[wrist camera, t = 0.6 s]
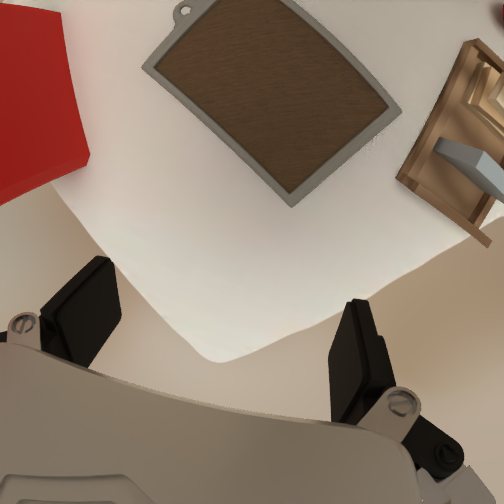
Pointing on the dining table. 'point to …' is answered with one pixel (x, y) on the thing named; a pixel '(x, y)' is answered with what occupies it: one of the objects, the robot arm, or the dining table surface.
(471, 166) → the grey square slab
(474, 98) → the offcut middle
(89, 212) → the dining table surface
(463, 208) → the tray
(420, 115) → the dining table surface
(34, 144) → the book
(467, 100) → the offcut bottom
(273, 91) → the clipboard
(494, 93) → the offcut top
